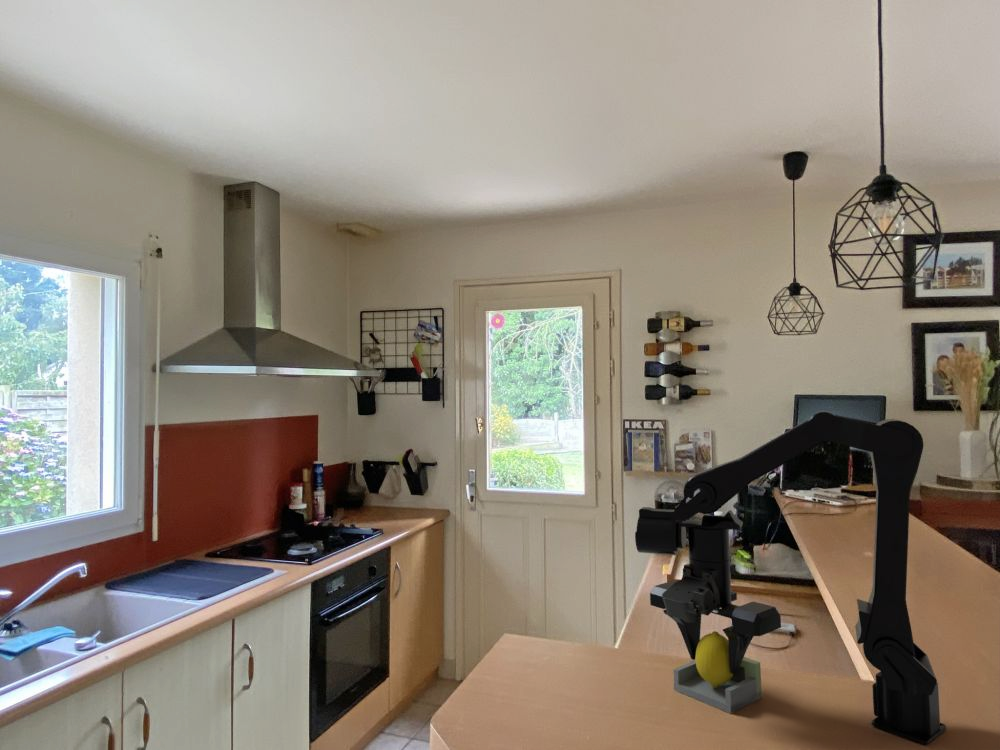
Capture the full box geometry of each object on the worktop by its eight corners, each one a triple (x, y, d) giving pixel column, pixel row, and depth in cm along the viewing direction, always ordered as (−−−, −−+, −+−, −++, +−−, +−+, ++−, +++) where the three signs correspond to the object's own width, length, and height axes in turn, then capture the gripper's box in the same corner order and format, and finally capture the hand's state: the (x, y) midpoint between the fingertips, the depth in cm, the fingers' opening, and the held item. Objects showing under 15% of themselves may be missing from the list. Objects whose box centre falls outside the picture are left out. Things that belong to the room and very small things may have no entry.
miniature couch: (761, 697, 94) (760, 662, 94) (730, 713, 90) (729, 676, 90) (705, 676, 102) (703, 643, 102) (673, 689, 97) (672, 655, 98)
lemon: (726, 679, 98) (726, 625, 99) (741, 696, 93) (741, 638, 93) (689, 679, 98) (690, 625, 98) (702, 695, 93) (703, 638, 93)
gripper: (623, 555, 99) (627, 661, 98) (732, 580, 84) (738, 705, 83) (671, 544, 105) (675, 643, 105) (780, 565, 90) (785, 681, 90)
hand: (713, 665), depth 96 cm, fingers open, 6 cm apart
